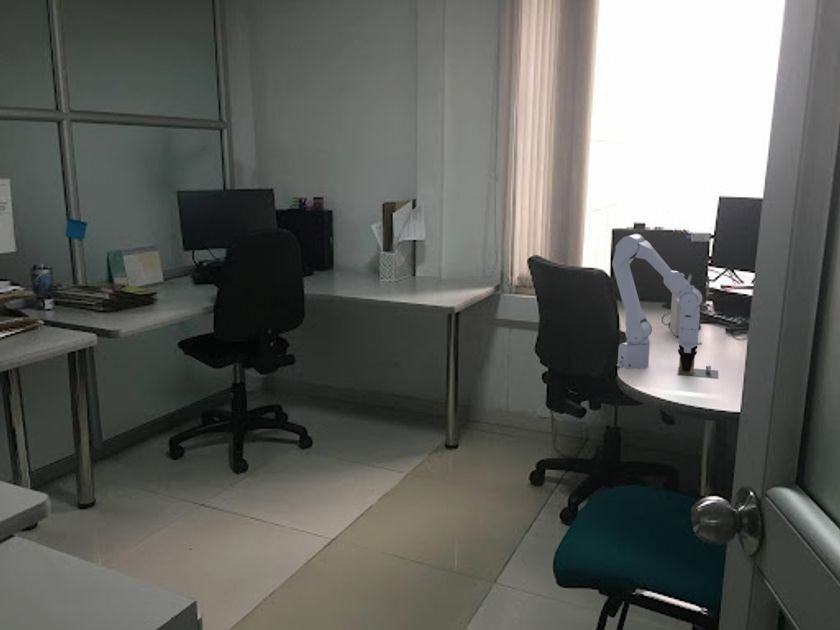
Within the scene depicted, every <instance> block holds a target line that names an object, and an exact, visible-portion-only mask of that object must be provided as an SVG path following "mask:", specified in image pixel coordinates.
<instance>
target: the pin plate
mask: <svg viewBox="0 0 840 630" xmlns="http://www.w3.org/2000/svg"><path fill="white" fill-rule="evenodd" d="M677 376H684V377H693V378H694V377H695V378H705V379H716V380H717V379H719V370H715V369H711V373H710V374H706V368H705V369H702V368H694V374H684V373H679V366H678V368H677Z"/></svg>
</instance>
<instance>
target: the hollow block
mask: <svg viewBox="0 0 840 630" xmlns="http://www.w3.org/2000/svg"><path fill="white" fill-rule="evenodd" d="M695 359H696V356H695V357H694V359H693V362H692V366H691V369H690V372H686V371H683V370H682V363H681V358H680V357H679V361H678V362H679V363H678V367H679V373H684V374H694V369H695Z"/></svg>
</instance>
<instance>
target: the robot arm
mask: <svg viewBox="0 0 840 630" xmlns="http://www.w3.org/2000/svg"><path fill="white" fill-rule="evenodd" d="M645 239H646V238H645V237H644V236H642V235H641V234H638V233H633V234H630V235H627V236H624V237H622V238H621V239H620V240H619V241H618V242H617V244H616V245H615V251H614V255H613V259H612V263H611V265H612V268H613V272H614V276H615V280H616V283H617V288H618V290H619V291H618V292H619V294H620V298H621V302H622V305H623V309H624V311H625V322H624V323H625V327H626V329H625V333H624V334H625V338H626V341H625V342H621V343H620V344H618V345H619V346H618V348H617V349H618V350H617V351H618V353H617V364H616V366H617V367H618V368H620V369H622V368H624V369H625V370H629V369H630V370H631V369H646V368H648V367H649V365H650V364H649V363H650V361H649V360H650V345H651V343H650V342H651V341H650V338H649V336H650V335H651V334H652V332H653V326H652V324H651V323H650V322H649V321H648V318H647V315H646V314H645V312H644V311H643V310H642V306H641V302H640V299H639V295H638V291H637V288H636V284H635V280H634V276H633V274H632V271H631V267H630V266H631V263H632V262H633V261H634V259H635V258H636V259H641V260H646V261H647V262H648V264H650V265H651V266H652V267H653V268H654V270H655V271H656V272H658V273H659V274H660V275H661V277H663V284H664V285H665V287H666V288H667V289H668V290H669V292H671V294H672V293H673V294H674V295H675V296H676V297H677V298H678V299H680V300H679V304H680V306H681V314H680V329H679V337H678V340H677V344H678V349H677V352H678V355H679V359H680V358H681V363H682V370H683V371H686V372H690V369H691V366H692V362H693V359H694V357H695V358H696V355H697V353H698V350H697V349H698V346H702V345H703V344H702V343H703V342H702V341H700V340H699V334H700V333H699V331H700V318H701V317H700V316H701V314H700V311H701V306H700V305H701V303H702V302H703V294H702V293H701V291H700V290H699V289H698V288H695V285H692V284H691V283H690V284H689V283H688V281H687V280H688V279H686V278H685V274H684V273H683V272H679V271H677V270H672V269H671V268H670V266H669V265H668V264H667V263H666V262H665V260H664V259H663V258H662V257H661V256H660V254H659V253H658V252H657V251H656V249H655V248H654V247H653V246H652V244H651V243H650V241H648V240H645ZM689 285H690V286H689ZM694 360H695V359H694Z"/></svg>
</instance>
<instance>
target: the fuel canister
mask: <svg viewBox="0 0 840 630" xmlns="http://www.w3.org/2000/svg"><path fill="white" fill-rule="evenodd" d="M692 276H693V274H692V273H688V277H687V279H686V280H687V281H688V283H689V284H690V285H691V280H692ZM690 285H689V286H690ZM679 300H680V299H678V298H677V297H676V296H675V295H674V294H673V293H672V292H671V304H670V305H671V306H670V307H671V308H670V322H669V323H670V324H669V330H670V331H671V332H672V334H673V336H674V337H676V336H678V337H677V338H679V329H680V314H681V306H680V304H679Z"/></svg>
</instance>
